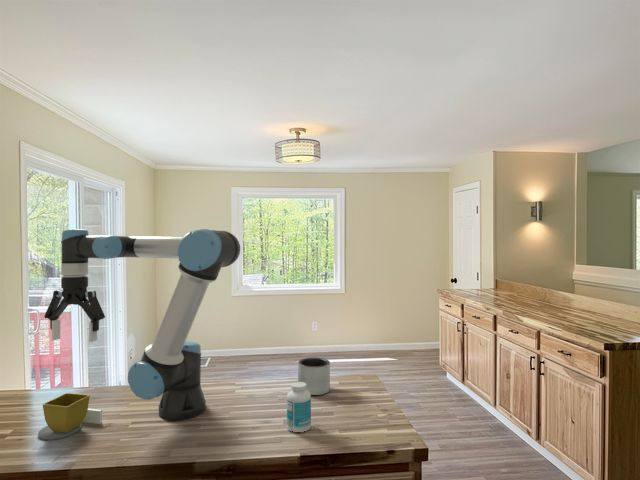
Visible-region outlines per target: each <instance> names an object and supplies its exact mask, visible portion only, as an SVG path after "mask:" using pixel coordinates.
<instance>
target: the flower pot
mask: <svg viewBox="0 0 640 480" xmlns="http://www.w3.org/2000/svg"><path fill="white" fill-rule="evenodd" d="M90 397H91V395H90V394H81V393H71V392H68V393H67V392H66V393H63V394H61V395H59V396H57V397H55V398H53V399H50V400H49V401H46V402H44V403H42V411H43V416H44V417H43V418H44V422H45V423H46V426H48V427H49V428H50V429H51V430H52V431H53V432H61V433H68V432H70V431H72V430H73V429H75V428H77V427H78V426H80V425H81V423H82V424H83V423H84V422H83V420H84V418H85V416H86V414H87V410H88V408H89V405H90V404H89V403H90Z"/></svg>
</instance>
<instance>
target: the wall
mask: <svg viewBox="0 0 640 480" xmlns="http://www.w3.org/2000/svg"><path fill="white" fill-rule="evenodd" d="M82 423H89V424H96V425H97V424H98V425H100V424H102V423H103V410H102V409H96V408H90V407H88V410H87V414H86V416H85V418H84V420H83V422H82Z"/></svg>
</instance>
